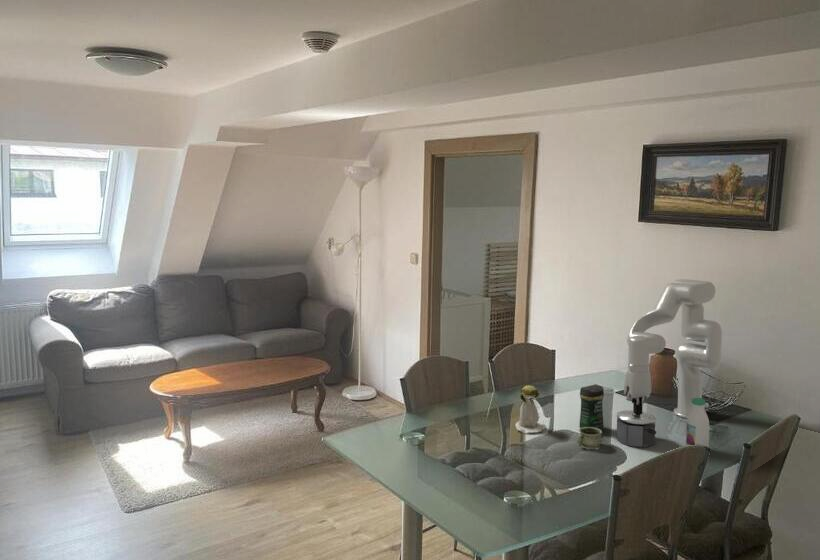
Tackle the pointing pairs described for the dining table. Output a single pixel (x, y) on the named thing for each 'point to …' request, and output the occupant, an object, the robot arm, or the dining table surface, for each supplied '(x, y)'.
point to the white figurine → (529, 411)
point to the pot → (635, 434)
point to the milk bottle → (697, 424)
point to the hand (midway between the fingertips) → (637, 413)
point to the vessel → (590, 437)
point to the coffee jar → (591, 406)
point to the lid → (636, 417)
